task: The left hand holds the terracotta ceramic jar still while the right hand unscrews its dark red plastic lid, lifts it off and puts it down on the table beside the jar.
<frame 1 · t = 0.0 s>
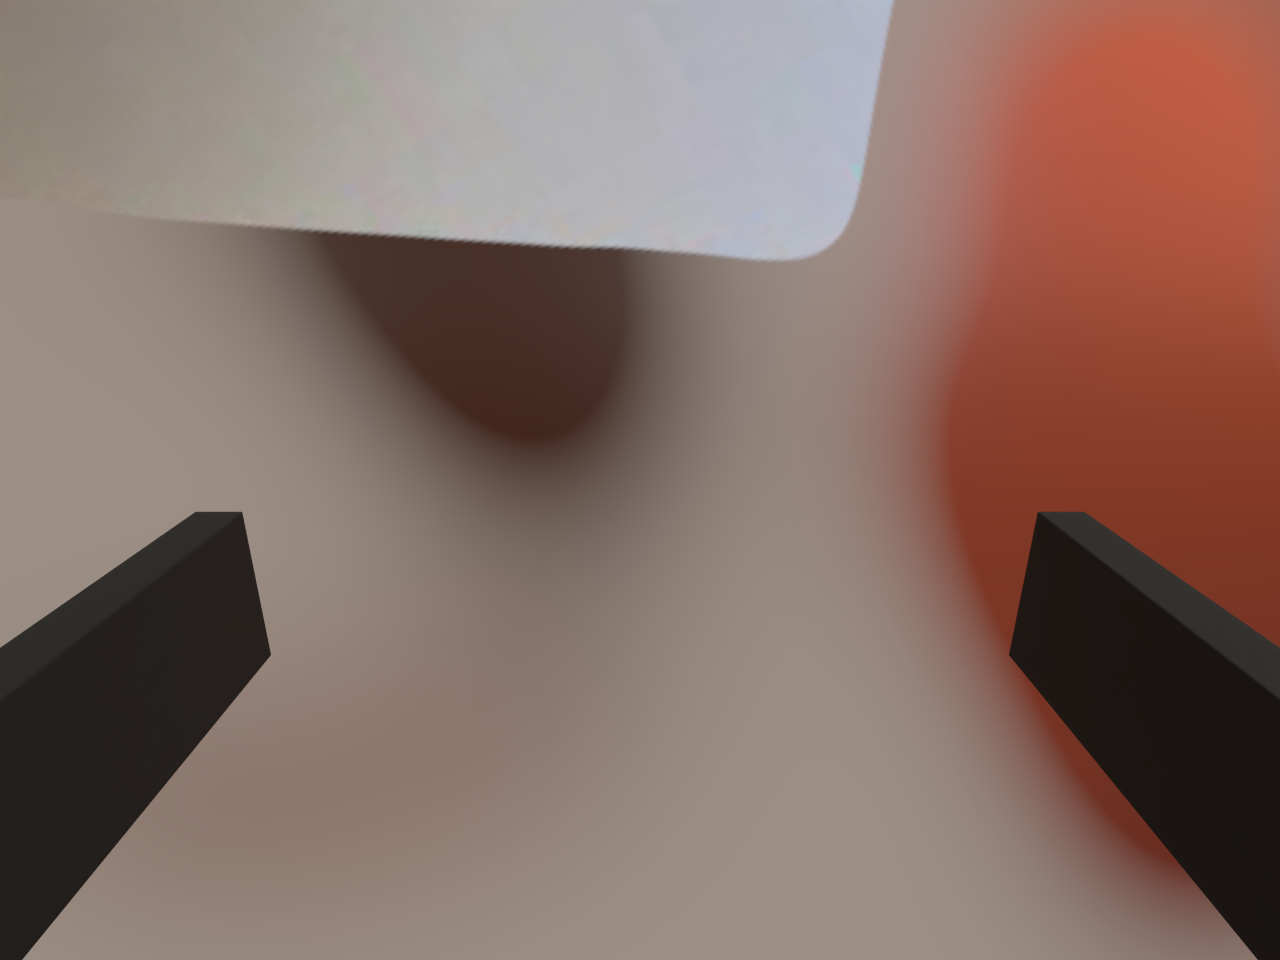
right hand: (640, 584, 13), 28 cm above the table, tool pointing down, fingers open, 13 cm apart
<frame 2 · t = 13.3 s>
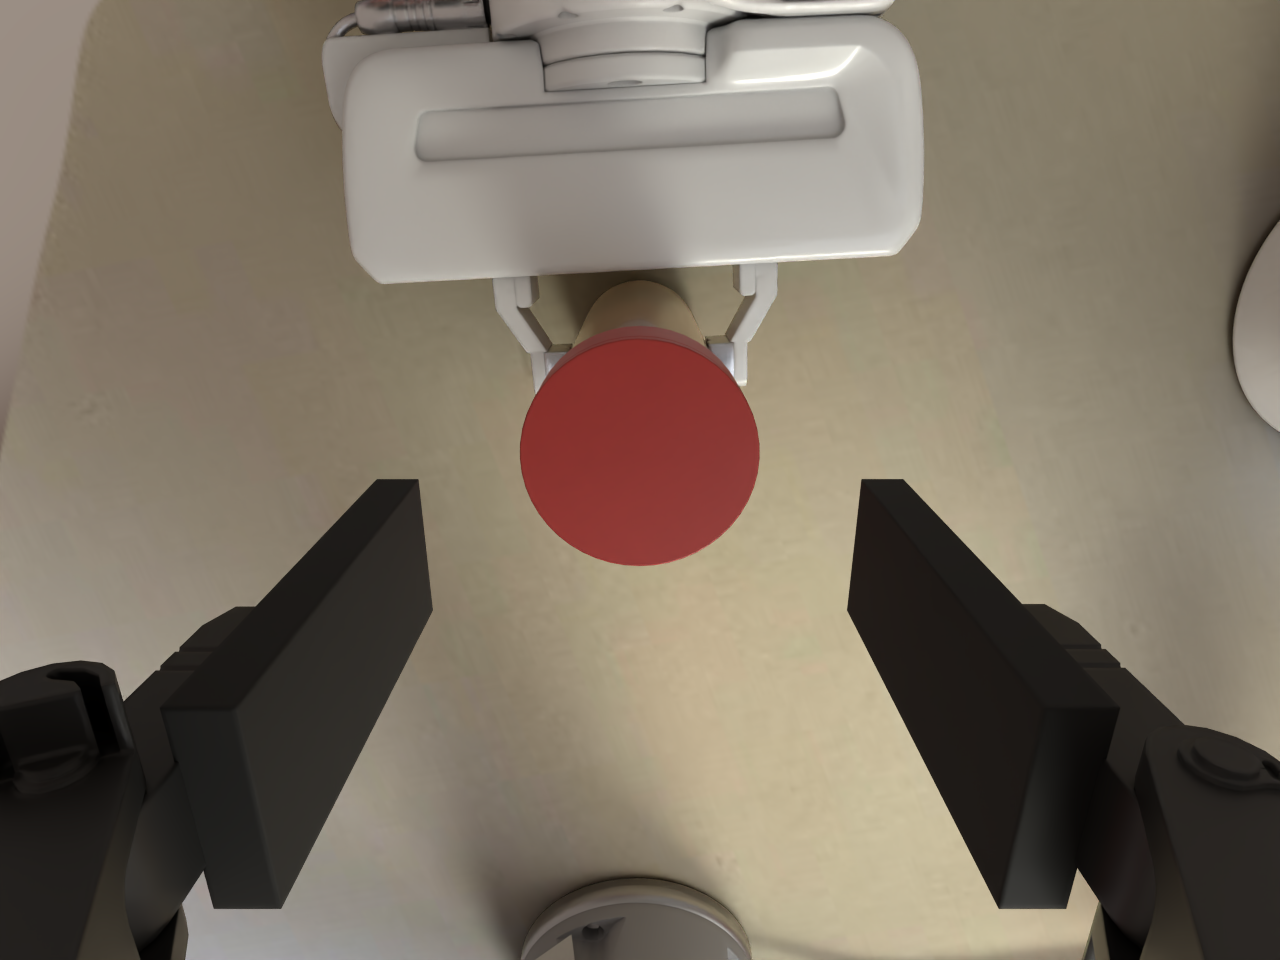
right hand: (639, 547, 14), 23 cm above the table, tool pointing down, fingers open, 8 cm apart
left hand: (642, 388, 30), fingers closed on jar, 5 cm apart
jar: (639, 338, 35), on the table, touching left hand
lid: (639, 454, 19), point 17 cm above the table, screwed on, not yet turned
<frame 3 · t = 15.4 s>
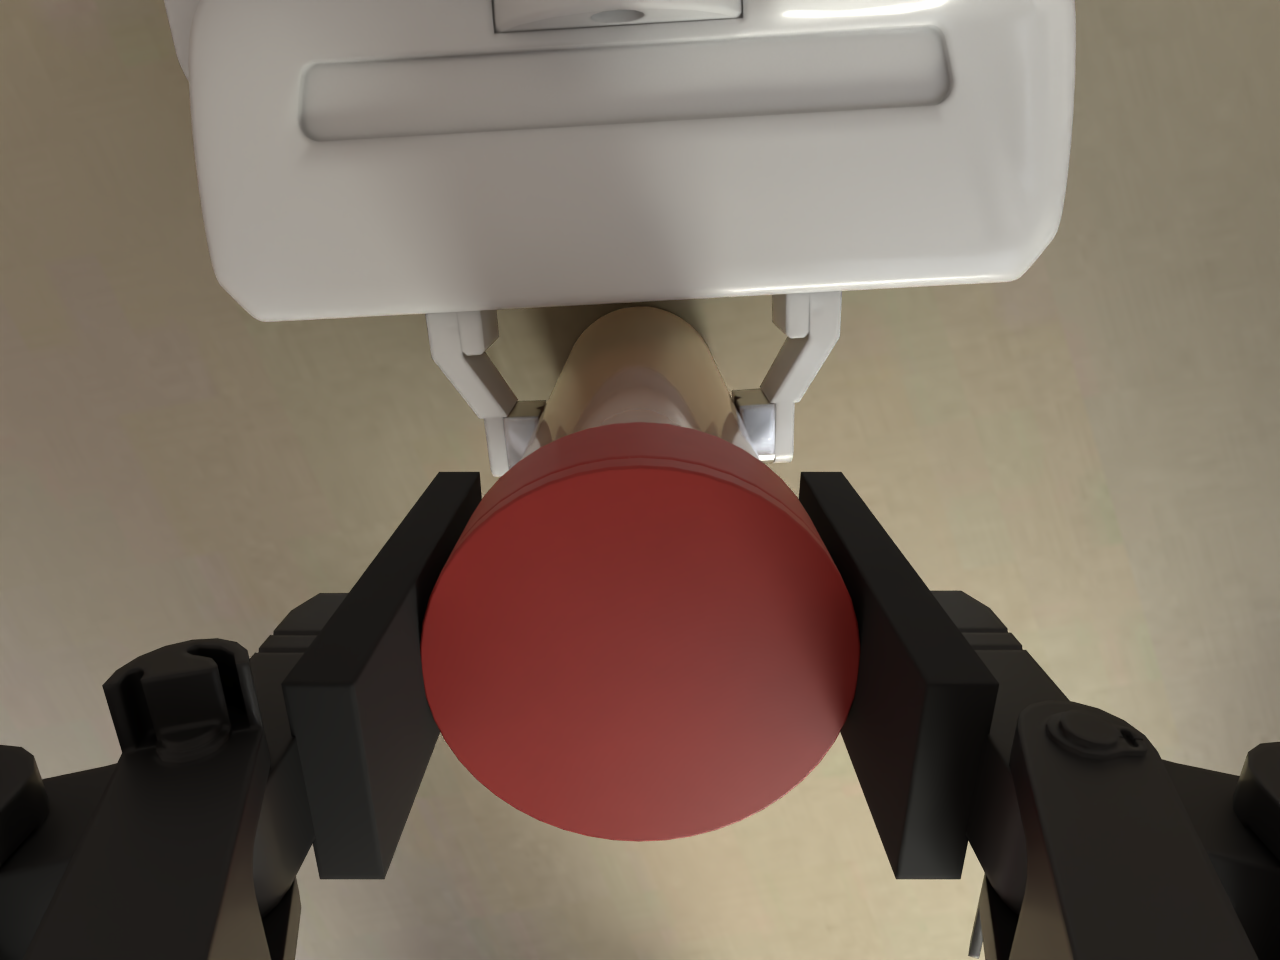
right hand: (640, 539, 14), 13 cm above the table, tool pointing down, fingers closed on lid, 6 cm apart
jar: (640, 382, 27), on the table, touching left hand
lid: (640, 658, 11), point 17 cm above the table, screwed on, not yet turned, touching right hand
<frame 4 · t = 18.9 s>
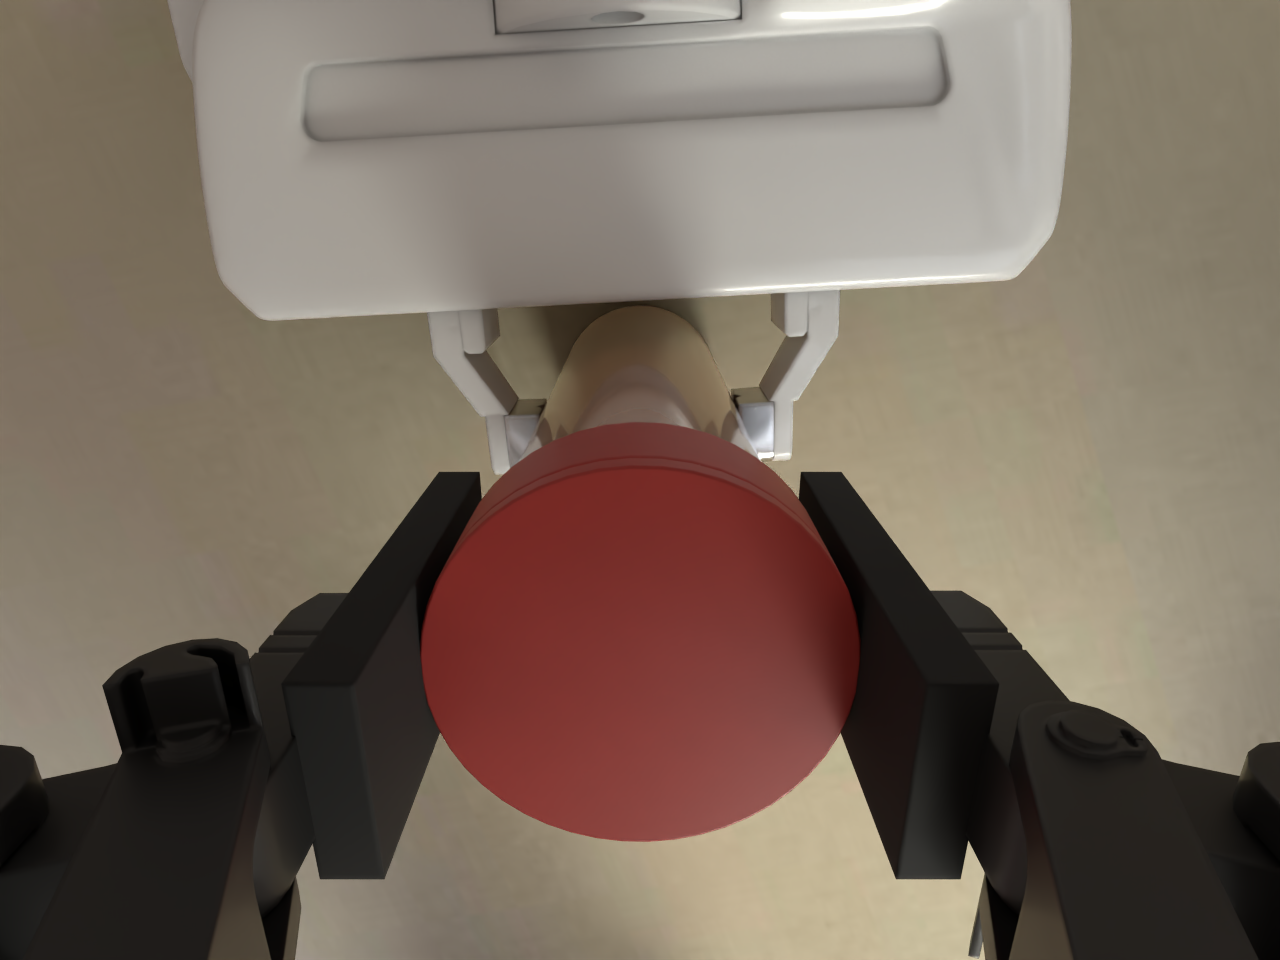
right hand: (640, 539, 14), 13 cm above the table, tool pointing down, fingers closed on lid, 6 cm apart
jar: (640, 381, 27), on the table, touching left hand
lid: (640, 659, 11), point 17 cm above the table, turned 115° so far, risen 0.2 cm, still on its thread, touching right hand
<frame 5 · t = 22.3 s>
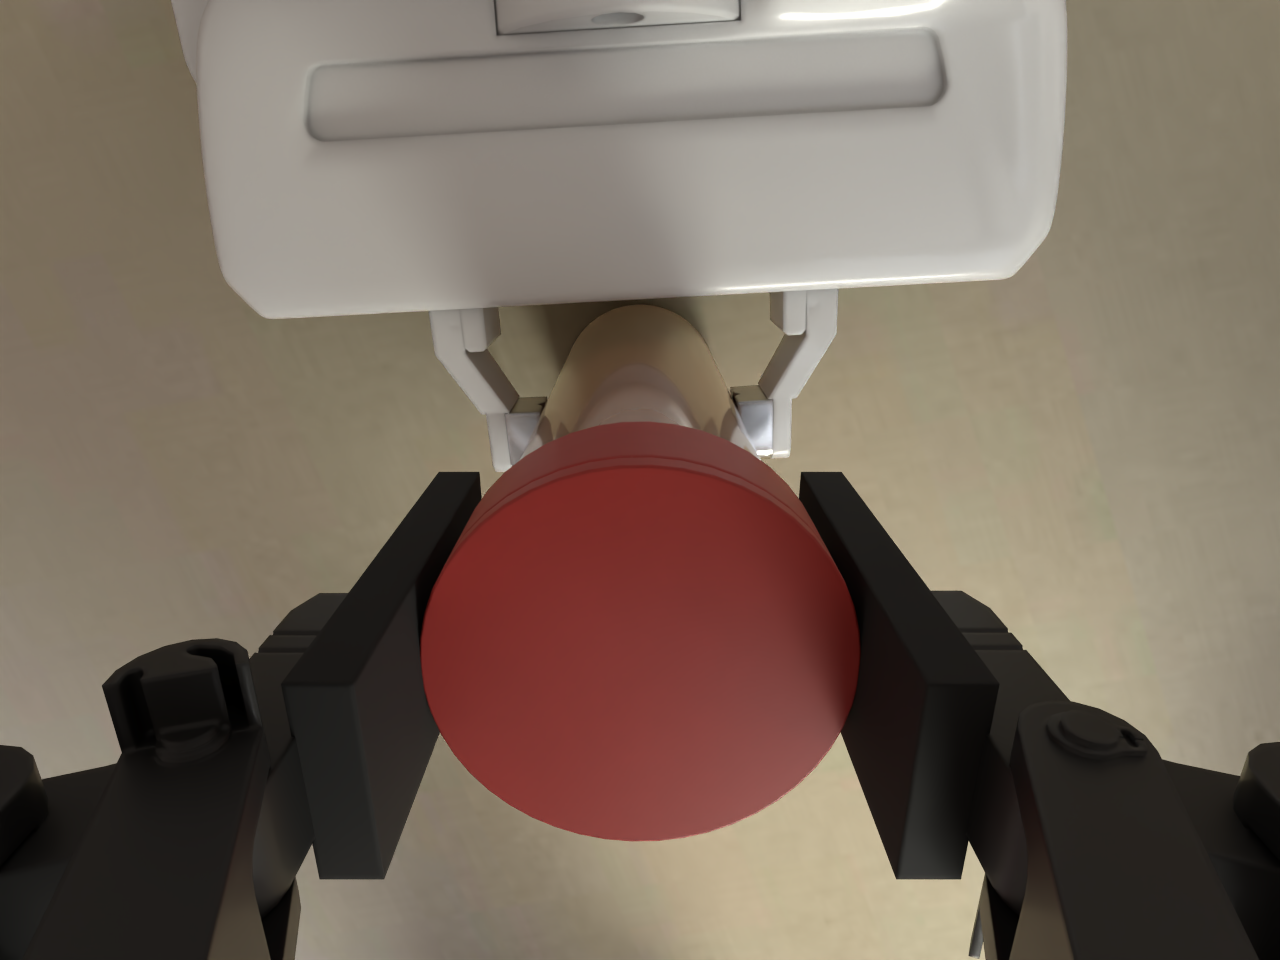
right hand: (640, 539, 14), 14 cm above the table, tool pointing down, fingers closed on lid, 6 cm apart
jar: (640, 379, 27), on the table, touching left hand
lid: (640, 658, 11), point 18 cm above the table, turned 230° so far, risen 0.3 cm, still on its thread, touching right hand
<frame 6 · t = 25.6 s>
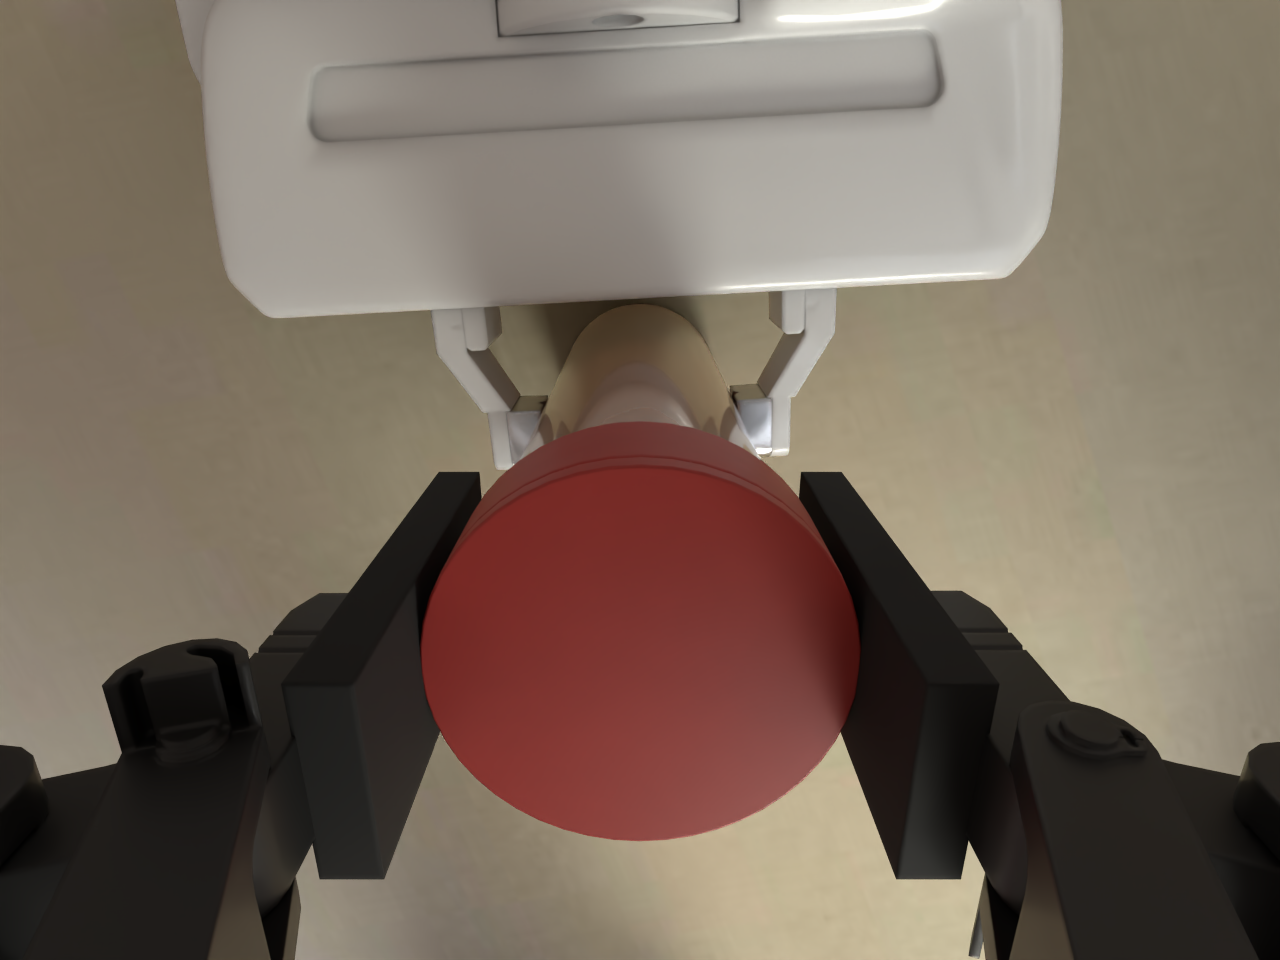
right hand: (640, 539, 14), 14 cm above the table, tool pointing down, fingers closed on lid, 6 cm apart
jar: (640, 378, 27), on the table, touching left hand
lid: (640, 658, 11), point 18 cm above the table, turned 345° so far, risen 0.5 cm, still on its thread, touching right hand
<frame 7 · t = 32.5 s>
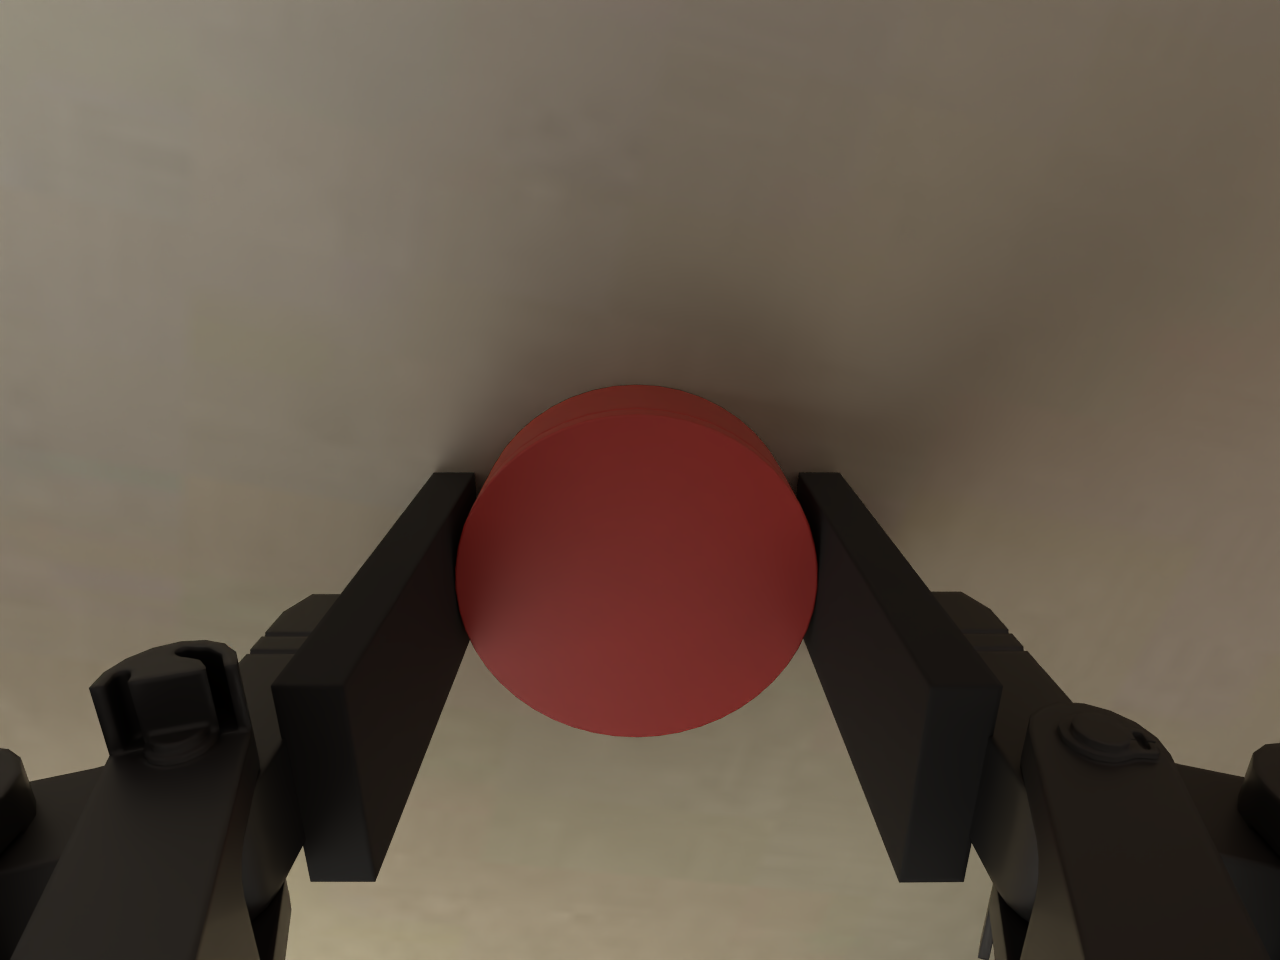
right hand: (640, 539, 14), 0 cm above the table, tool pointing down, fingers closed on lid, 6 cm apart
lid: (636, 580, 13), point 2 cm above the table, off its thread, touching right hand
when the right hand's fingers open (0 cm above the table, at t = 32.9 s): lid stays where it is, point 2 cm above the table.
when the left hand's fingers open (6 cm above the table, at t = 33.6 s): jar stays where it is, on the table.
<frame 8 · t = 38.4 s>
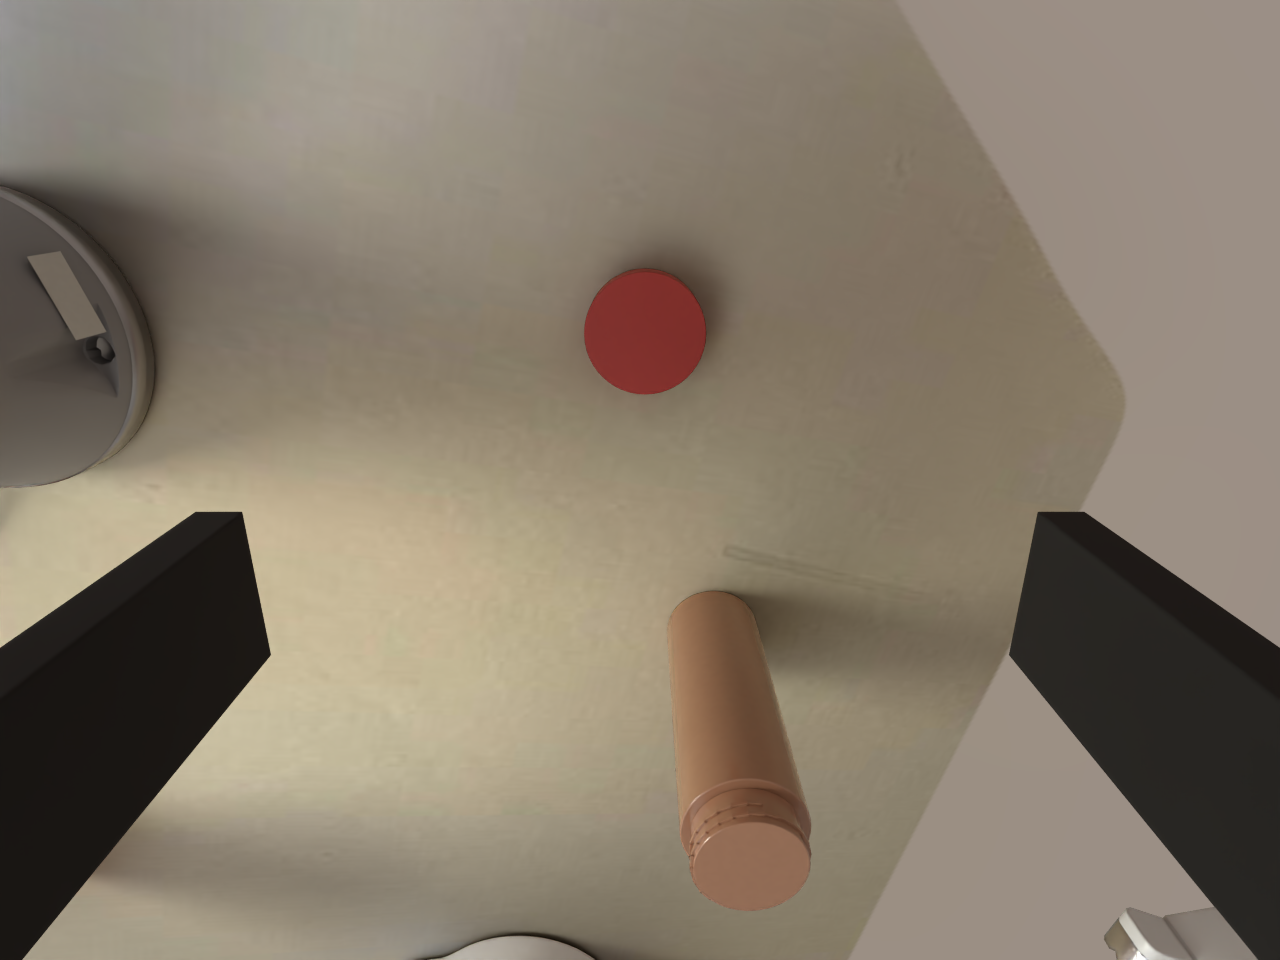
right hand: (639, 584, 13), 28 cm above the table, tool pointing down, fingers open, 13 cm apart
jar: (711, 630, 45), on the table
lid: (645, 333, 37), point 2 cm above the table, off its thread
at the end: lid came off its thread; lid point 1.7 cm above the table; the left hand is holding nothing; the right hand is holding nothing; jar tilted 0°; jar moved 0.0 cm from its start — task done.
